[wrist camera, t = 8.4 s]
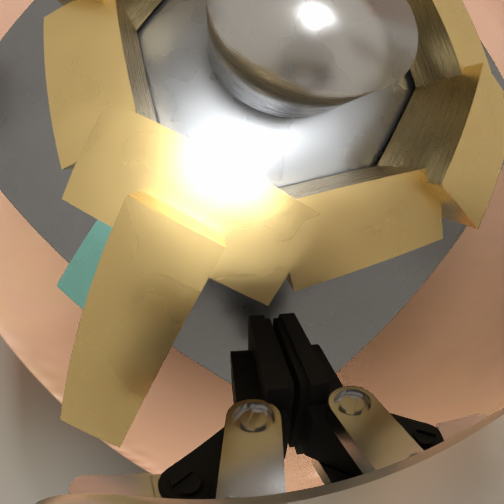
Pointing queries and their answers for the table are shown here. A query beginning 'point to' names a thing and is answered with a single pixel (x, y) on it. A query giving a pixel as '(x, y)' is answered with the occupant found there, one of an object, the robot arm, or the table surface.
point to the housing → (241, 143)
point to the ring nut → (240, 194)
